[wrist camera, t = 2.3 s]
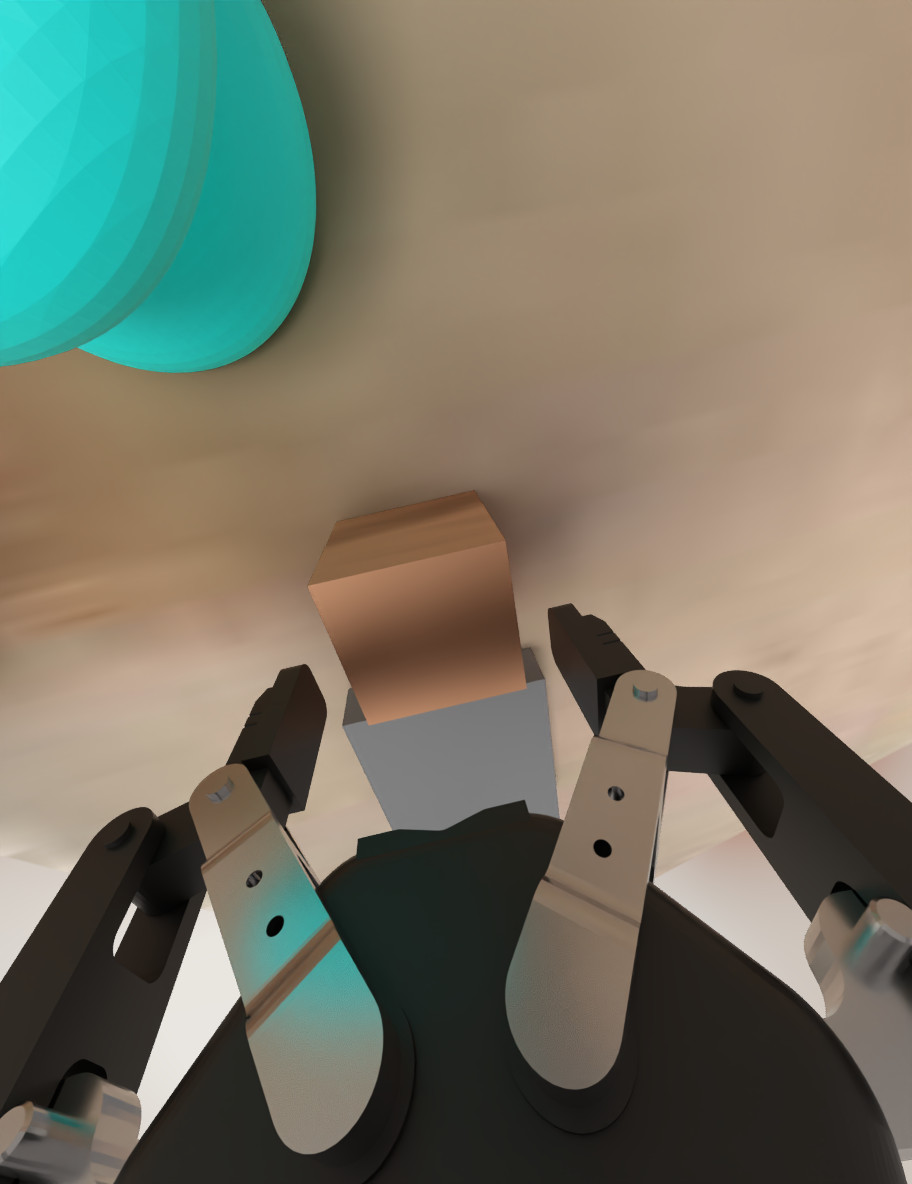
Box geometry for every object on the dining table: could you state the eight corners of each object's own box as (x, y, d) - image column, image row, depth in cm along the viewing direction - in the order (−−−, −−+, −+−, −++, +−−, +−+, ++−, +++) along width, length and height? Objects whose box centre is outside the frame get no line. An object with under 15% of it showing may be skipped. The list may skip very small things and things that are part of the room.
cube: (337, 521, 17) (307, 585, 12) (473, 489, 17) (505, 540, 12) (377, 633, 20) (368, 725, 15) (494, 606, 20) (527, 688, 15)
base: (349, 683, 22) (342, 725, 19) (527, 642, 22) (545, 678, 19) (404, 811, 27) (405, 856, 25) (544, 777, 28) (559, 820, 25)
